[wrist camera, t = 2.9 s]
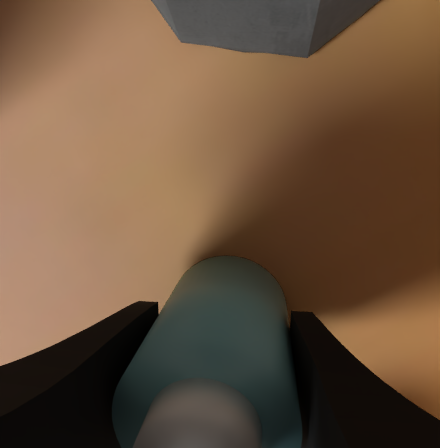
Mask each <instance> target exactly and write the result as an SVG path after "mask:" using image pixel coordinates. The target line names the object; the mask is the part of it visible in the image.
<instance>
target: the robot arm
mask: <svg viewBox="0 0 440 448" xmlns="http://www.w3.org/2000/svg"><path fill="white" fill-rule="evenodd" d="M158 315H159V314H158V302H146V301H138V302H136V303H133V304H131V305H129V306H127V307H125V308H124V309H122V310H120V311H118V312H116V313H114V314H113V315H111V316H109V317H107V318H105V319H104V320H102V321H100V322H98V323H96V324H94V325H93V326H91V327H89V328H87V329H85V330H83V331H81V332H79V333H77V334H75V335H73V336H71V337H69V338H67V339H65V340H63V341H61V342H59V343H57V344H55V345H53V346H50V347H48V348H46V349H44V350H41V351H39V352H36V353H34V354H32V355H29V356H27V357H24V358H22V359H19V360H16V361H14V362H11V363H8V364H5V365H2V366H0V448H121V446H120V444H119V441H118V439H117V437H116V434H115V431H114V427H113V421H112V402H113V396H114V393H115V390H116V387H117V385H118V383H119V381H120V379H121V377H122V376H123V374H124V372H125V371H126V369H127V367H128V366H129V364H130V362H131V361H132V359H133V357H134V356H135V354H136V352H137V351H138V349H139V347H140V346H141V344H142V342H143V340H144V339H145V337H146V335H147V334H148V332H149V330H150V329H151V327H152V325H153V324H154V322H155V320H156V319H157V317H158ZM290 337H291V344H292V352H293V359H294V367H295V375H296V383H297V391H298V398H299V406H300V414H301V422H302V443H301V448H440V420H438V419H437V418H435V417H434V416H432V415H431V414H429V413H427V412H426V411H424V410H423V409H421V408H420V407H418V406H417V405H415V404H414V403H412V402H411V401H409V400H408V399H406V398H405V397H404V396H402V395H401V394H400V393H398V392H397V391H396V390H394V389H393V388H392V387H390V386H389V385H388V384H386V383H385V382H384V381H382V380H381V379H380V378H379V377H377V376H376V375H375V374H374V373H373V372H371V371H370V370H369V369H368V368H367V367H366V366H365V365H364V364H362V363H361V362H360V361H359V360H358V359H357V358H356V357H355V356H354V355H352V354H351V353H350V352H349V351H348V350H347V349H346V348H345V347H344V346H343V345H342V344H341V343H340V342H339V341H338V340H337V339H336V338H335V337H334V336H333V334H332V333H331V332H330V331H329V330H328V329H327V328H326V327H325V326H324V325H323V324H322V322H321V321H320V320H319V319H318V318H317V317H316V316H315V315H314V314H313V313H312V312H299V311H291V322H290Z"/></svg>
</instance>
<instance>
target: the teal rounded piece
mask: <svg viewBox="0 0 440 448" xmlns="http://www.w3.org/2000/svg"><path fill="white" fill-rule="evenodd" d="M112 421H113V427H114V431H115V434H116V437H117V439H118V441H119V444H120V446H121V448H301V443H302V422H301V414H300V406H299V398H298V391H297V383H296V375H295V367H294V359H293V352H292V344H291V337H290V328H289V321H288V313H287V305H286V300H285V296H284V293H283V291H282V289H281V287H280V285H279V284H278V282H277V281H276V279H275V278H274V277H273V276H272V275H271V274H270V273H269V272H268V271H267V270H266V269H264V268H263V267H262V266H260V265H259V264H257V263H255V262H253V261H250V260H248V259H245V258H241V257H236V256H217V257H212V258H208V259H205V260H203V261H200V262H199V263H197V264H195V265H194V266H192V267H191V268H190V269H188V270H187V271H186V273H185V274H184V275H183V276H182V277H181V279H180V280H179V282H178V283H177V285H176V287H175V288H174V290H173V292H172V294H171V295H170V297H169V299H168V300H167V302H166V304H165V305H164V307H163V309H162V310H161V312H160V314H159V315H158V317H157V319H156V320H155V322H154V324H153V325H152V327H151V329H150V330H149V332H148V334H147V335H146V337H145V339H144V340H143V342H142V344H141V346H140V347H139V349H138V351H137V352H136V354H135V356H134V357H133V359H132V361H131V362H130V364H129V366H128V367H127V369H126V371H125V372H124V374H123V376H122V377H121V379H120V381H119V383H118V385H117V387H116V390H115V393H114V396H113V402H112Z"/></svg>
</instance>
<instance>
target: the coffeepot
mask: <svg viewBox="0 0 440 448" xmlns="http://www.w3.org/2000/svg"><path fill="white" fill-rule="evenodd" d="M151 1H152V2H153V3H154V5H155V6H156V8H157V9H158V11H159V12H160V13H161V15H162V16H163V18H164V19H165V20H166V22H167V23H168V25H169V26H170V27H171V29H172V30H173V32H174V33H175V34H176V36H177V37H178V39H179V40H180V41H181V42H182V43H190V44H198V45H207V46H214V47H219V48H224V49H229V50H234V51H240V52H253V53H271V54H279V55H288V56H296V57H304V58H308V57H309V56H310V55H312V54H313V53H314V52H315V51H317V50H318V49H319V48H321V47H322V46H323V45H324V44H326V43H327V42H328V41H329V40H331V39H332V38H333V37H334V36H336V35H337V34H338V33H340V32H341V31H342V30H344V29H345V28H346V27H348V26H349V25H350V24H352V23H353V22H354V21H356V20H357V19H358V18H360V17H361V16H362V15H363V14H364V13H365V12H366V11H367V10H369V9H370V8H371V7H372V6H374V5H375V4H376V3H377V2H379V1H380V0H151Z"/></svg>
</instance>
